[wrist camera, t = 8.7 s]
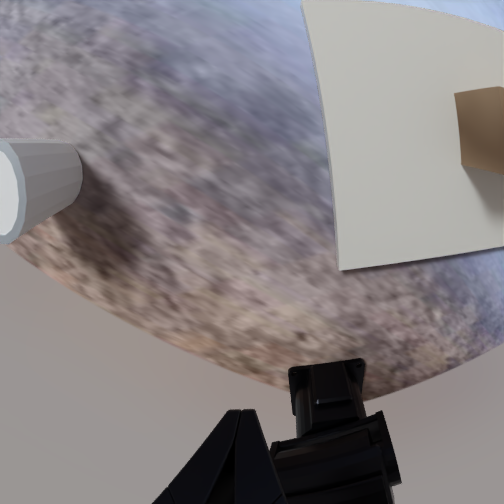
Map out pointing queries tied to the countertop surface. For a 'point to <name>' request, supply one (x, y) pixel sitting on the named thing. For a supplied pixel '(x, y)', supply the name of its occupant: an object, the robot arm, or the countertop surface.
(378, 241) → the cutting board
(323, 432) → the robot arm
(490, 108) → the walnut block
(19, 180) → the white tapered cup
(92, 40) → the countertop surface
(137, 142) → the countertop surface
